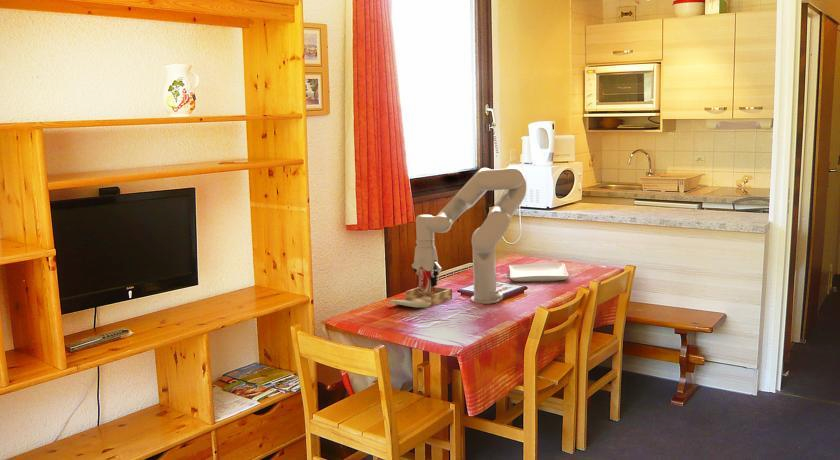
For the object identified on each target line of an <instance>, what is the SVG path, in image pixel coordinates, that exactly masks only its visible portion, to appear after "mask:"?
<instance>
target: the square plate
mask: <svg viewBox="0 0 840 460" xmlns="http://www.w3.org/2000/svg"><path fill="white" fill-rule="evenodd" d="M508 268H509V279H511V280H512V281H513V282H520V283H521V282H523V283H524V282H525V283H526V282H556V281H557V282H558V281H563V280H565V279H566V280H567V279H568V277H569V276H570V274H569V272H568V270H567V268H566V264H565V263H563V262H562V263H527V264H526V263H524V264H510V265H509V266H508Z"/></svg>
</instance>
